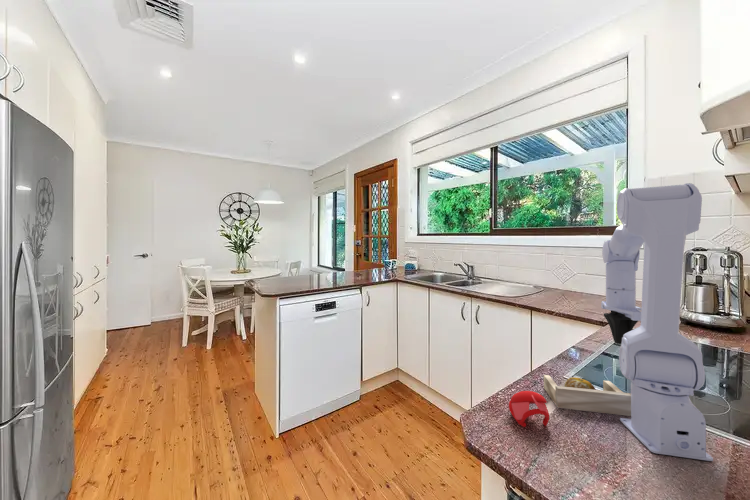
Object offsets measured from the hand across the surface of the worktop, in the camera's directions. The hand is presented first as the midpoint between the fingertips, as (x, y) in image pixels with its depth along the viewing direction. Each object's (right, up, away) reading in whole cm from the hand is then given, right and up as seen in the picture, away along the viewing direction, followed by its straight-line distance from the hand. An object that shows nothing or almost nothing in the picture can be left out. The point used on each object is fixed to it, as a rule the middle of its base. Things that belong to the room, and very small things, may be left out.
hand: (620, 343), depth 73 cm
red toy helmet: (-32, -10, -17) cm, 38 cm away
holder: (-16, -9, -9) cm, 21 cm away
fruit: (-17, -10, -7) cm, 21 cm away
